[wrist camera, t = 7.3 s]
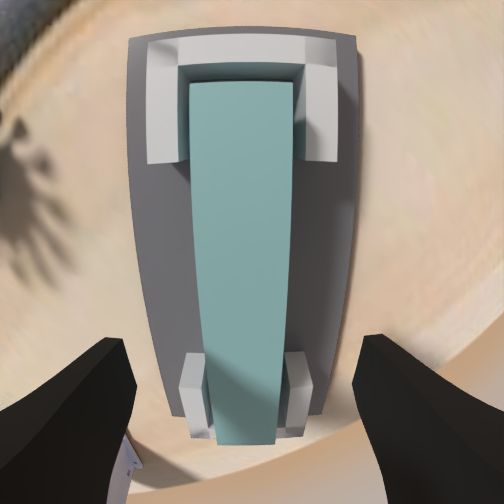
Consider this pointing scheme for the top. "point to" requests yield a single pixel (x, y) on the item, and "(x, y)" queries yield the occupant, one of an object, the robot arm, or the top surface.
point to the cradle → (302, 203)
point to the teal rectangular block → (242, 247)
